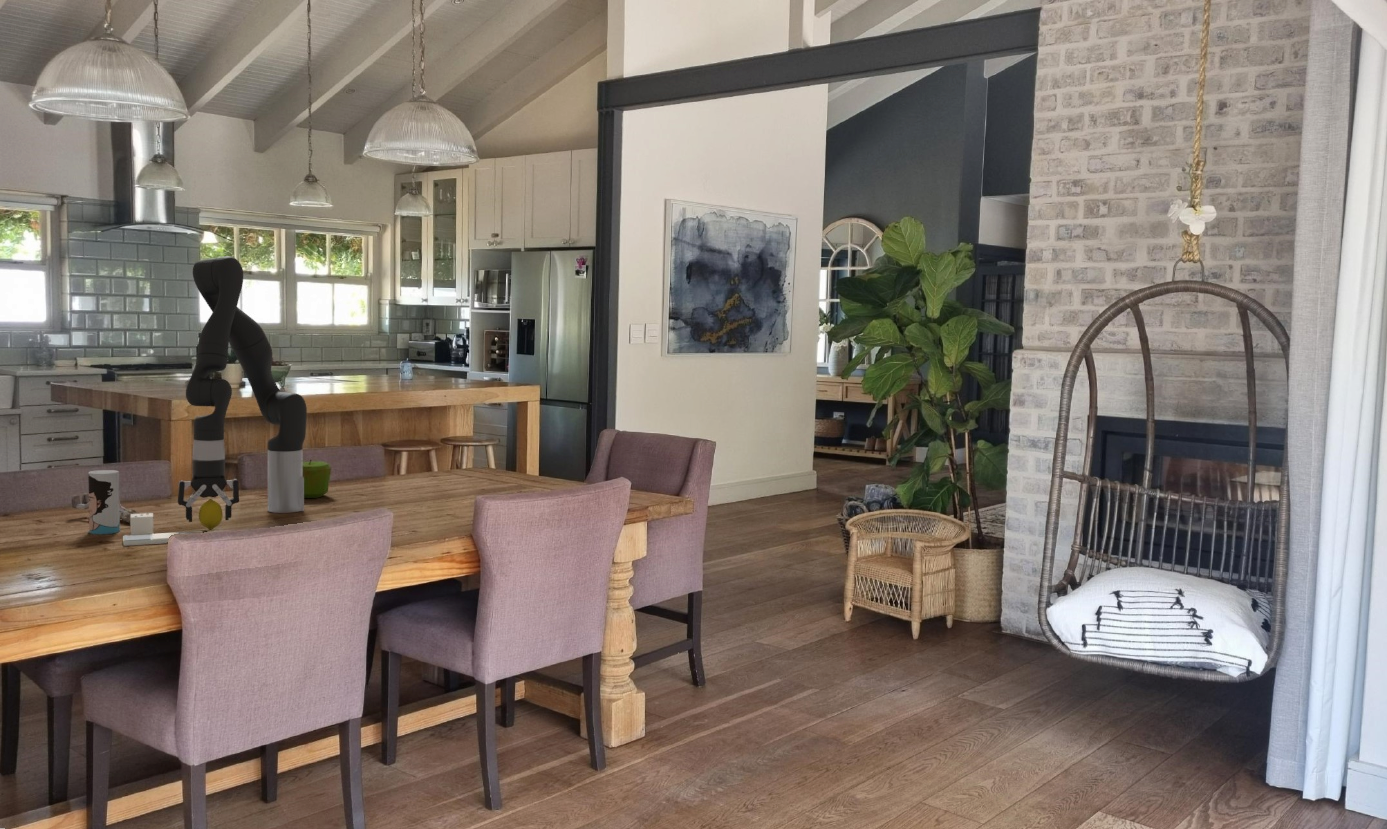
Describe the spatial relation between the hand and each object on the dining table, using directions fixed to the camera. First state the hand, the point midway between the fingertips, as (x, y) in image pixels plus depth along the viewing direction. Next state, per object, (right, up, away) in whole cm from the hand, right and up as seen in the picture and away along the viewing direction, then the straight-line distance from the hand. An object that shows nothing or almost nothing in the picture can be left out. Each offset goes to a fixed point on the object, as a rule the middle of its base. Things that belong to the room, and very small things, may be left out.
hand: (208, 520), depth 288 cm
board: (-2, -4, -12) cm, 13 cm away
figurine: (-30, -1, +9) cm, 32 cm away
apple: (+7, +2, +54) cm, 55 cm away
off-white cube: (-13, -3, -8) cm, 15 cm away
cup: (-24, -2, -5) cm, 24 cm away
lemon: (0, -3, 0) cm, 3 cm away
